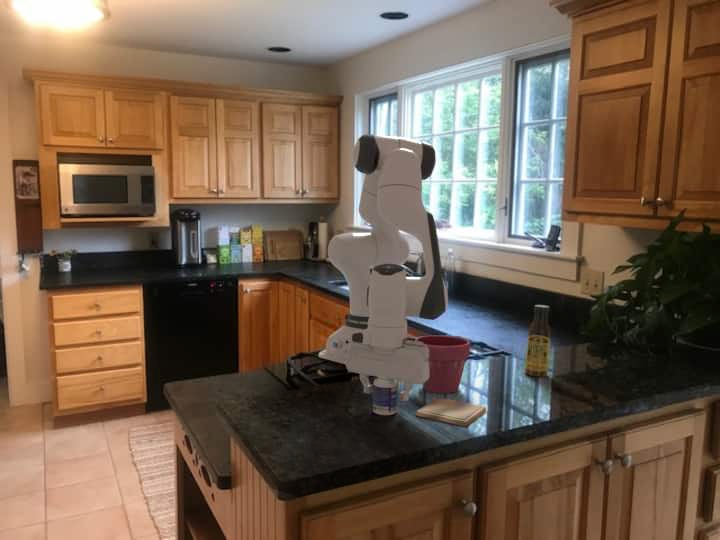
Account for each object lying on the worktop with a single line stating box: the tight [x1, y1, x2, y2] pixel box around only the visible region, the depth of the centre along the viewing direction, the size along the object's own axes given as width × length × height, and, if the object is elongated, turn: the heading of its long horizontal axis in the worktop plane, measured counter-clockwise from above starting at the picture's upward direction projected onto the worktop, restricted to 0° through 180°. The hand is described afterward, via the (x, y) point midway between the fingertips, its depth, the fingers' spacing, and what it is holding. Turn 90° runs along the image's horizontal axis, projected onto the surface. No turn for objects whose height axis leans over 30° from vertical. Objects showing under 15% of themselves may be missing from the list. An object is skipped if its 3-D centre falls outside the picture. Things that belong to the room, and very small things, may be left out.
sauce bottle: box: [524, 304, 552, 378], centre depth 170 cm, size 6×6×20 cm
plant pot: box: [414, 334, 471, 394], centre depth 156 cm, size 14×14×13 cm
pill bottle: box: [372, 372, 398, 416], centre depth 137 cm, size 5×5×10 cm
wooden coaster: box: [415, 397, 487, 427], centre depth 137 cm, size 12×12×1 cm
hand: (385, 396), depth 137 cm, fingers open, 8 cm apart
